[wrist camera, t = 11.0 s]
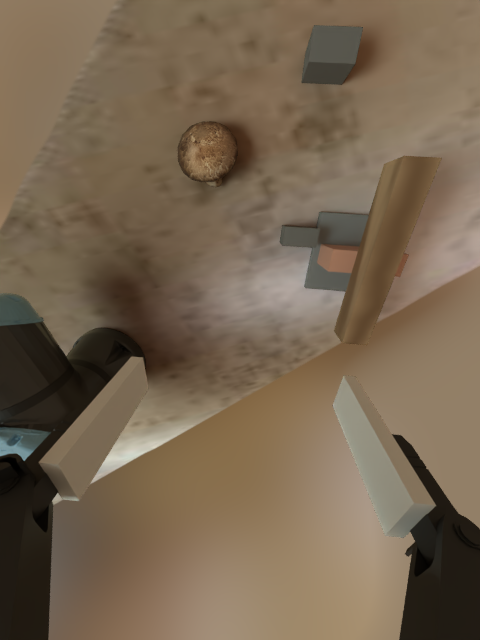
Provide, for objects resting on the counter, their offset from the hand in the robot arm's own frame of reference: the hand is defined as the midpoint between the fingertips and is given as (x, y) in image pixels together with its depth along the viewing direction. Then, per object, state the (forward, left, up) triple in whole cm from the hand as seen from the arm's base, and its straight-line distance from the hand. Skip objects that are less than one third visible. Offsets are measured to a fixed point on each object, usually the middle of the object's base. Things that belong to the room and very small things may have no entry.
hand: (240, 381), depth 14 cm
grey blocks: (+7, +17, -27) cm, 32 cm away
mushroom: (-7, +17, -27) cm, 33 cm away
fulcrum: (+16, +5, -27) cm, 32 cm away
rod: (+16, +5, -20) cm, 26 cm away
